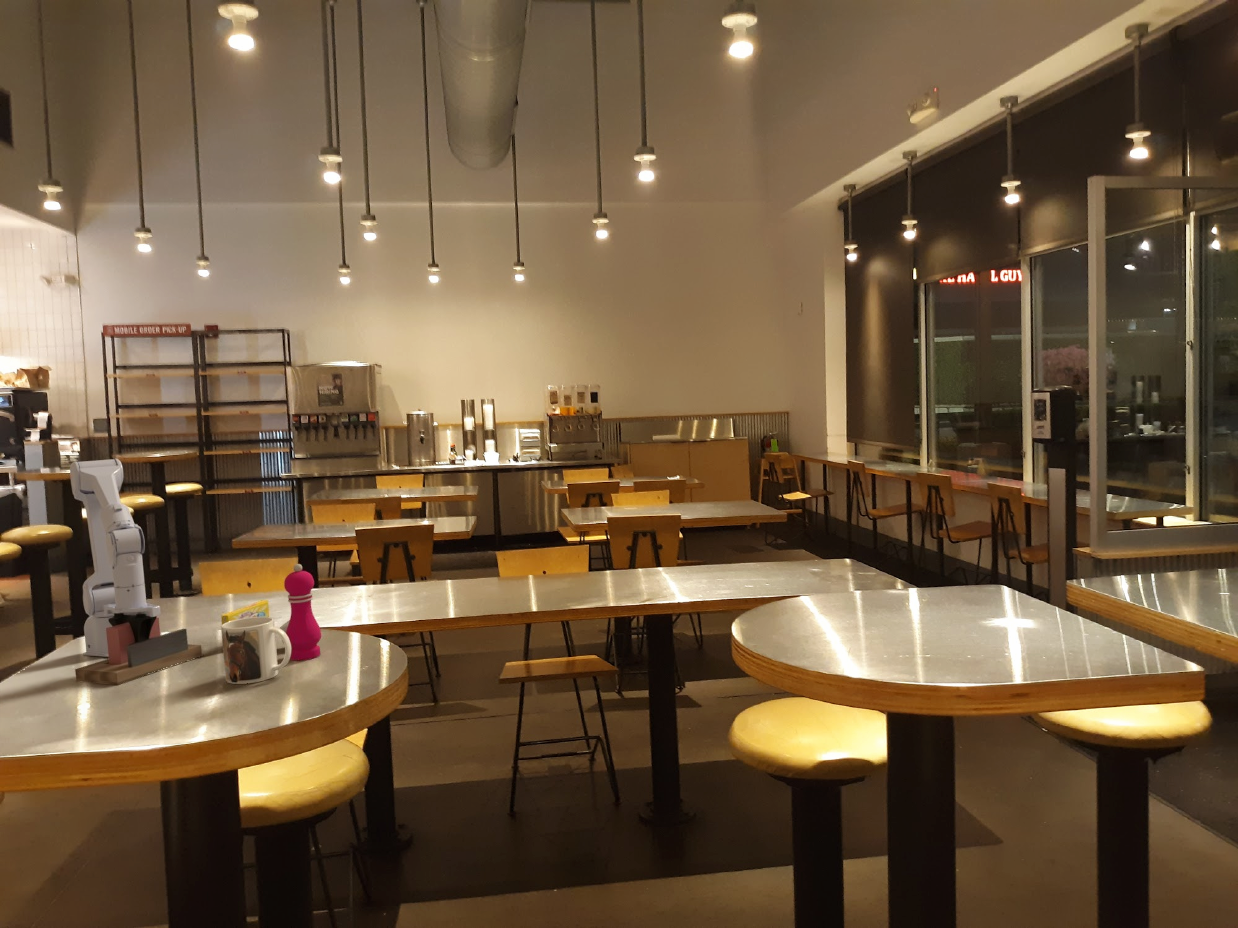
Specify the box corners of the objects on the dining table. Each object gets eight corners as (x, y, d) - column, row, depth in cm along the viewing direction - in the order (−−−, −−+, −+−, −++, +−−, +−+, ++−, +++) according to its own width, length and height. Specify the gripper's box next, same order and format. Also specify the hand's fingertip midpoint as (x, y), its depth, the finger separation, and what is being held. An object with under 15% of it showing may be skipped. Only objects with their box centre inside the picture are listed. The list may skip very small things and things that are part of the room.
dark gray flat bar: (128, 667, 190) (126, 645, 190) (184, 649, 203) (182, 628, 203) (132, 667, 190) (129, 645, 190) (188, 649, 203) (186, 628, 203)
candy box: (230, 651, 209) (227, 615, 209) (222, 651, 210) (219, 615, 209) (271, 633, 225) (268, 599, 225) (263, 633, 226) (260, 599, 225)
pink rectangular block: (109, 666, 195) (105, 628, 195) (150, 653, 205) (146, 617, 204) (121, 667, 194) (117, 628, 194) (162, 654, 203) (158, 617, 203)
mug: (269, 666, 194) (264, 613, 194) (295, 675, 186) (290, 620, 185) (217, 678, 187) (212, 624, 186) (242, 689, 179) (237, 632, 178)
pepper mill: (329, 652, 203) (322, 560, 202) (308, 661, 196) (300, 567, 195) (302, 651, 205) (294, 560, 204) (280, 660, 198) (272, 566, 197)
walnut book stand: (76, 681, 192) (75, 669, 192) (162, 653, 211) (161, 642, 211) (117, 684, 187) (116, 672, 187) (202, 656, 206) (201, 645, 206)
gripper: (88, 588, 198) (94, 651, 198) (137, 589, 192) (143, 655, 193) (117, 581, 204) (123, 643, 205) (166, 583, 198) (172, 646, 199)
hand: (135, 648), depth 199 cm, fingers closed on pink rectangular block, 3 cm apart
